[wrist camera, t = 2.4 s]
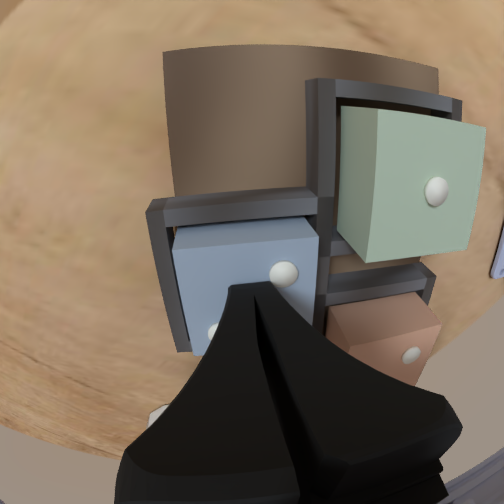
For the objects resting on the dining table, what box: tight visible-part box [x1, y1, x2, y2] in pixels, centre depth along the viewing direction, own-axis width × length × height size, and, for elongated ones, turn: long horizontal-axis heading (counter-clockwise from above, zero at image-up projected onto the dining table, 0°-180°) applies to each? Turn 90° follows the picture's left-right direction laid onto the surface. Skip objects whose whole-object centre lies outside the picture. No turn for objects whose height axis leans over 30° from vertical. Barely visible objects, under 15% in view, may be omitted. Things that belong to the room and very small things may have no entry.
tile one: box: [337, 106, 486, 263], centre depth 9 cm, size 4×4×3 cm
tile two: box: [325, 292, 443, 386], centre depth 13 cm, size 4×4×3 cm
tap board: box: [145, 45, 462, 356], centre depth 13 cm, size 12×17×2 cm
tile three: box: [172, 215, 319, 356], centre depth 11 cm, size 4×4×3 cm
